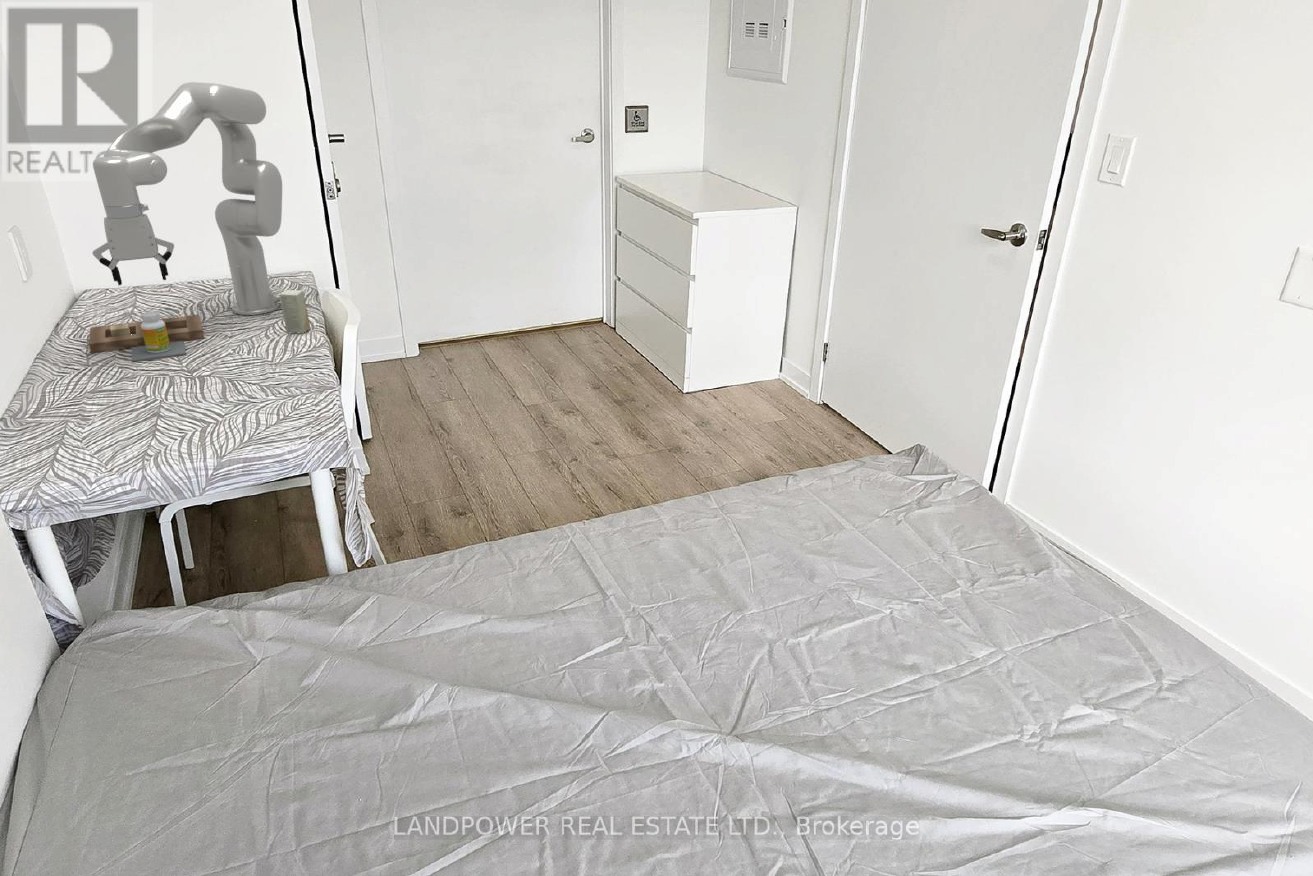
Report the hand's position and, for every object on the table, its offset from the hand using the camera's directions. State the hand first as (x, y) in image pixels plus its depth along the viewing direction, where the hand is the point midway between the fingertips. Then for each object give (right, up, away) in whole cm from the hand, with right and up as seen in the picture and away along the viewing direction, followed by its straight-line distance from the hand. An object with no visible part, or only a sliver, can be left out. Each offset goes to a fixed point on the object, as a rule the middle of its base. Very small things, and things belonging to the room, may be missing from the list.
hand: (142, 281), depth 210 cm
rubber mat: (-1, -17, +8) cm, 19 cm away
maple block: (-14, -13, +15) cm, 24 cm away
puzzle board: (-9, -12, +17) cm, 23 cm away
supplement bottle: (-1, -16, +8) cm, 18 cm away
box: (+28, -9, +25) cm, 39 cm away
